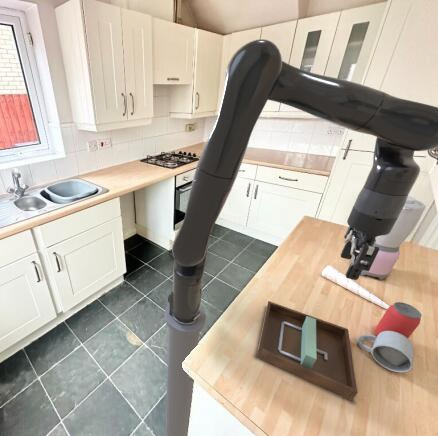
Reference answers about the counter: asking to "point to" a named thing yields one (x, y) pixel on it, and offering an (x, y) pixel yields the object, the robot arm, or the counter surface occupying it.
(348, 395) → the tray
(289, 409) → the counter surface
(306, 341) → the hanger
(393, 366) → the ceramic mug
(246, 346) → the counter surface
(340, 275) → the unicorn horn
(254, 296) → the counter surface
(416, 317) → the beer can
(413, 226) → the blender
